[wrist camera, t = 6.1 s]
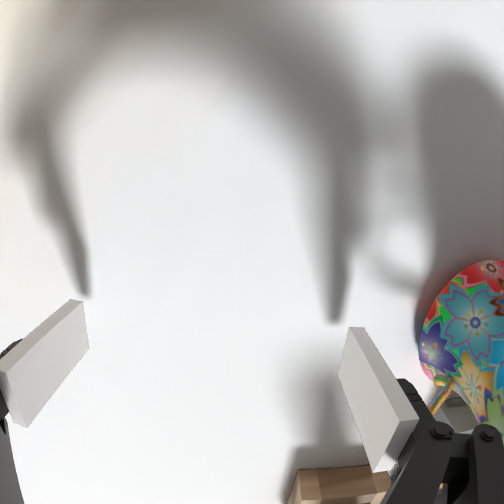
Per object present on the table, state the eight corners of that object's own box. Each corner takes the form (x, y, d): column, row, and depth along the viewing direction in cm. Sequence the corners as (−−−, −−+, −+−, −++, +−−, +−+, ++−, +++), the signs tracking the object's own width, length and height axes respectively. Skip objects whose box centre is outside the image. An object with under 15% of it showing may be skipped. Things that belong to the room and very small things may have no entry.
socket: (298, 469, 20) (301, 500, 17) (384, 462, 20) (394, 490, 17) (284, 510, 22) (285, 536, 19) (358, 504, 22) (364, 528, 19)
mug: (511, 224, 15) (644, 279, 5) (517, 340, 17) (602, 419, 7) (345, 311, 16) (430, 474, 6) (381, 420, 18) (432, 547, 8)
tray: (436, 401, 18) (456, 433, 15) (521, 384, 18) (542, 406, 15) (376, 504, 22) (383, 531, 18) (456, 484, 22) (467, 506, 18)
